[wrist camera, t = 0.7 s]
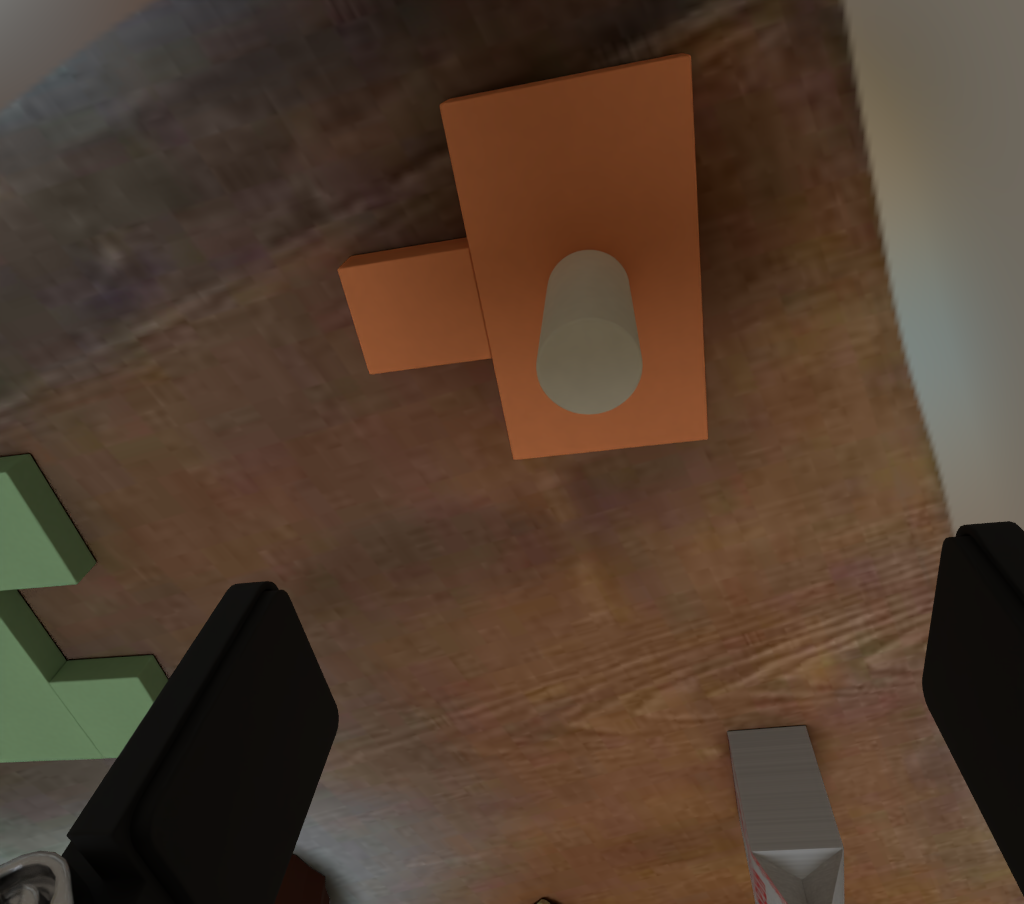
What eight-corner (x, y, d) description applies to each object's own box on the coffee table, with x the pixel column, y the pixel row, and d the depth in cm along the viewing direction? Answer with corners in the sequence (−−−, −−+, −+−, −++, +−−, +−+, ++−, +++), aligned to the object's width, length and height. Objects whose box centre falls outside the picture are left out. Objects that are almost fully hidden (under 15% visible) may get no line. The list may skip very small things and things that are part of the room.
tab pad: (311, 126, 22) (198, 167, 16) (684, 52, 20) (730, 66, 14) (407, 452, 28) (355, 579, 22) (702, 419, 26) (740, 548, 20)
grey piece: (805, 725, 34) (878, 959, 26) (809, 808, 37) (875, 1040, 29) (727, 731, 35) (772, 960, 26) (738, 812, 38) (781, 1039, 30)
